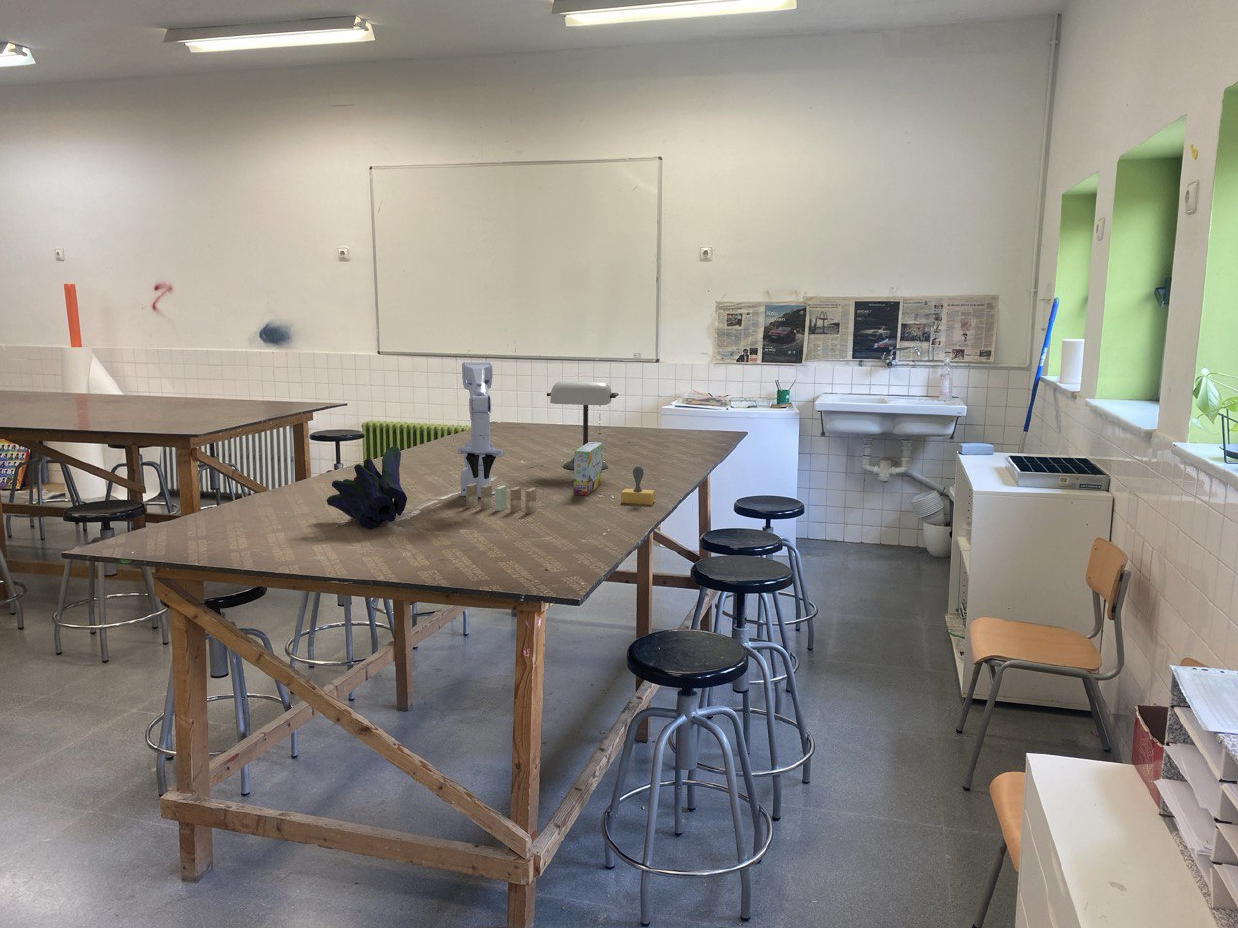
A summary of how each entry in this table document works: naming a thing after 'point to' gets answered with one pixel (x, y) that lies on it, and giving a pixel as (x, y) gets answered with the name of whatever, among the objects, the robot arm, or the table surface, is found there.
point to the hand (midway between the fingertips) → (481, 478)
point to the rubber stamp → (637, 491)
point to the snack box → (587, 468)
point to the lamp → (582, 402)
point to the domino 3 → (501, 498)
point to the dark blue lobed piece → (372, 492)
